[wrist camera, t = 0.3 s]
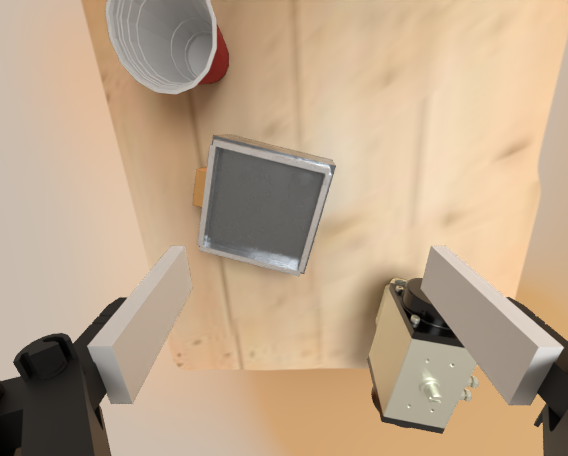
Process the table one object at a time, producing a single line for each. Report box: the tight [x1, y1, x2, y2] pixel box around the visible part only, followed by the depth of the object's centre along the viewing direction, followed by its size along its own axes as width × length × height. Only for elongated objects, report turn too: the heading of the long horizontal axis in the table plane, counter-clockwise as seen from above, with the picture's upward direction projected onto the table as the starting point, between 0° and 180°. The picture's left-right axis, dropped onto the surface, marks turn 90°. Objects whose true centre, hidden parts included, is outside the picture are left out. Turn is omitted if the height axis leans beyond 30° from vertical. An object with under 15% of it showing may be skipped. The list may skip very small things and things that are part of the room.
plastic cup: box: [105, 0, 229, 94], centre depth 30 cm, size 11×11×12 cm
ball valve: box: [368, 278, 479, 434], centre depth 36 cm, size 18×8×18 cm, turn 173°
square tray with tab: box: [193, 135, 336, 276], centre depth 37 cm, size 15×17×8 cm
